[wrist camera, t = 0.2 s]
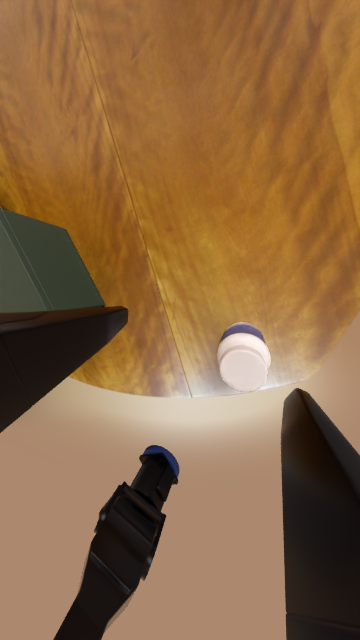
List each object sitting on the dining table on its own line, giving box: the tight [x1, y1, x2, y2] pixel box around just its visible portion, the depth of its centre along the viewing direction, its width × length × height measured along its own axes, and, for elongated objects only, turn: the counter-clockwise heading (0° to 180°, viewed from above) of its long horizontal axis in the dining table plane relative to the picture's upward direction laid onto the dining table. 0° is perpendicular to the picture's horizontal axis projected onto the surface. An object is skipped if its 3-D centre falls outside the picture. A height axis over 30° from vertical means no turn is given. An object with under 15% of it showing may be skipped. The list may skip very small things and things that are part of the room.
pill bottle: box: [217, 322, 271, 392], centre depth 18 cm, size 5×5×9 cm
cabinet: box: [0, 208, 105, 313], centre depth 28 cm, size 16×15×10 cm
